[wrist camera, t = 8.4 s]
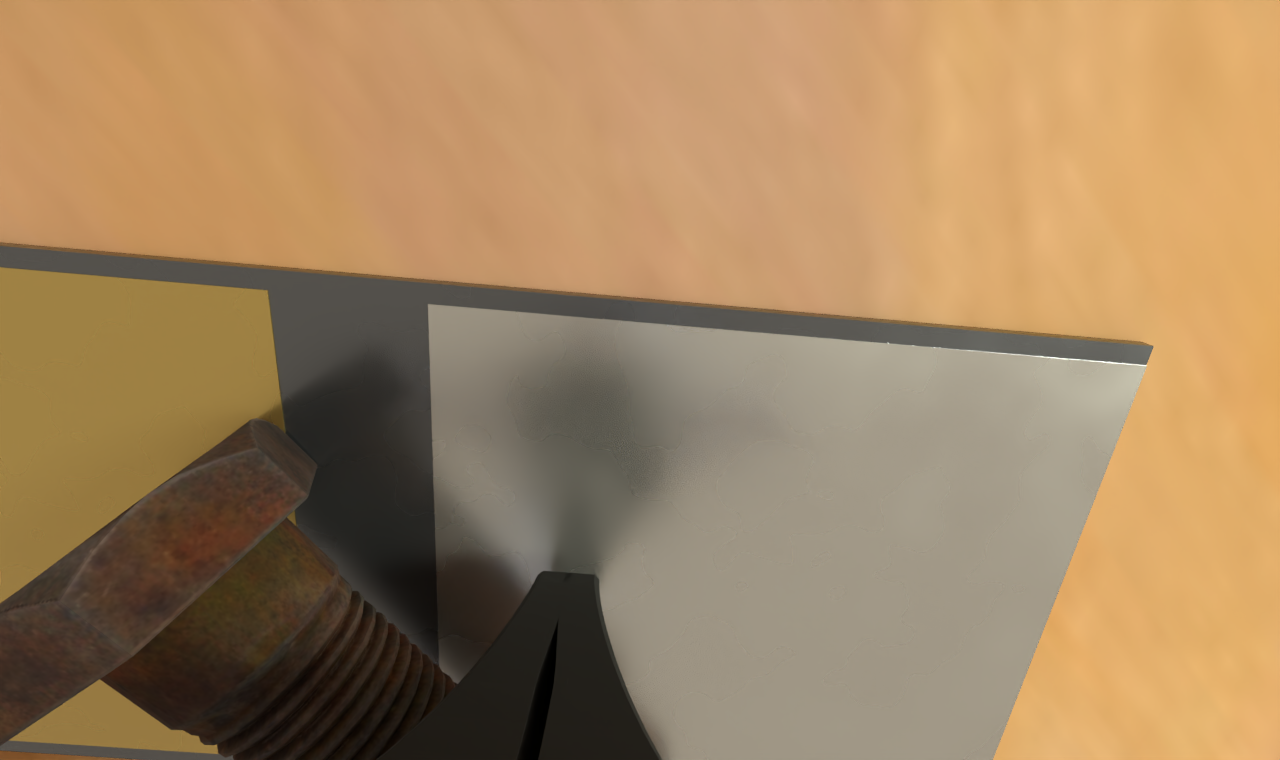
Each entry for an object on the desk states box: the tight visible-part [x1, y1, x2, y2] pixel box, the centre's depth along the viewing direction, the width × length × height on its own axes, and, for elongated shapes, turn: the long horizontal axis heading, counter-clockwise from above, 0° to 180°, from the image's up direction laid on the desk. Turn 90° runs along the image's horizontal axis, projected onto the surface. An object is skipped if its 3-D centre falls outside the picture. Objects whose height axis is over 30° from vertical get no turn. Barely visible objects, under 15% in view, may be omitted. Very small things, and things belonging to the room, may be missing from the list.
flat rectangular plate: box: [0, 243, 1154, 760], centre depth 14 cm, size 13×28×1 cm, turn 85°
